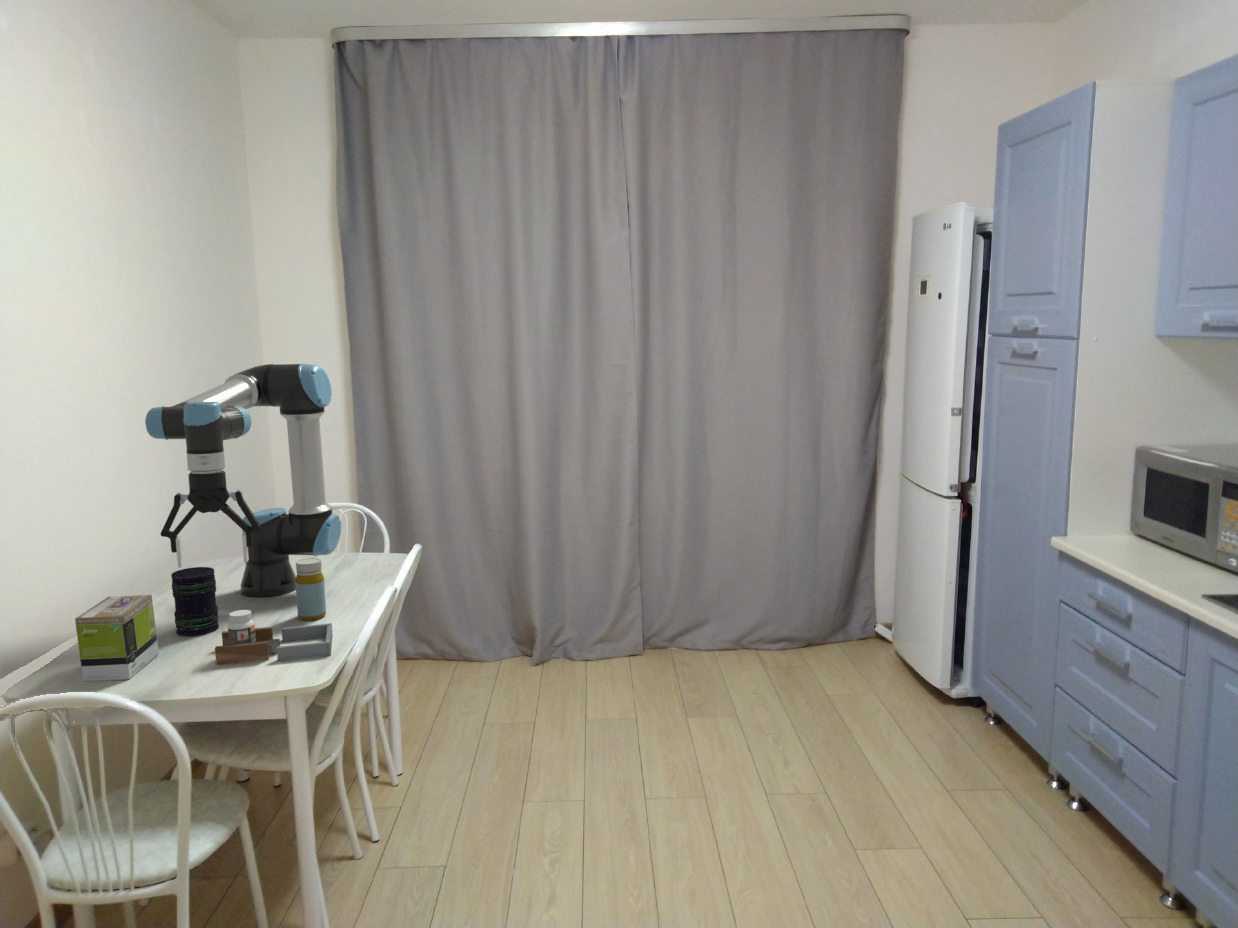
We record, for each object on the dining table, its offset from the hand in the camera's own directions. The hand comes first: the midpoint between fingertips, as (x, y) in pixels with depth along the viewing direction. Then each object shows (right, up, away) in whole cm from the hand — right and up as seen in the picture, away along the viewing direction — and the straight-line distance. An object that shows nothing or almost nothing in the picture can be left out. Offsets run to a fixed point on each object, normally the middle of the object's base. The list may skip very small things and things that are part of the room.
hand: (213, 563), depth 198 cm
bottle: (+12, -18, +30) cm, 37 cm away
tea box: (-19, -23, -3) cm, 30 cm away
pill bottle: (+5, -22, +5) cm, 23 cm away
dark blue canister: (-14, -19, +21) cm, 32 cm away
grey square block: (+10, -21, +6) cm, 25 cm away
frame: (+18, -21, +8) cm, 29 cm away
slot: (+5, -21, +5) cm, 23 cm away
